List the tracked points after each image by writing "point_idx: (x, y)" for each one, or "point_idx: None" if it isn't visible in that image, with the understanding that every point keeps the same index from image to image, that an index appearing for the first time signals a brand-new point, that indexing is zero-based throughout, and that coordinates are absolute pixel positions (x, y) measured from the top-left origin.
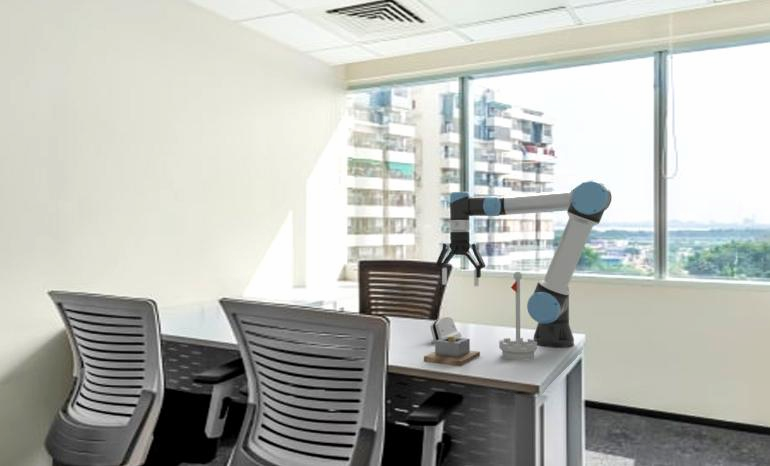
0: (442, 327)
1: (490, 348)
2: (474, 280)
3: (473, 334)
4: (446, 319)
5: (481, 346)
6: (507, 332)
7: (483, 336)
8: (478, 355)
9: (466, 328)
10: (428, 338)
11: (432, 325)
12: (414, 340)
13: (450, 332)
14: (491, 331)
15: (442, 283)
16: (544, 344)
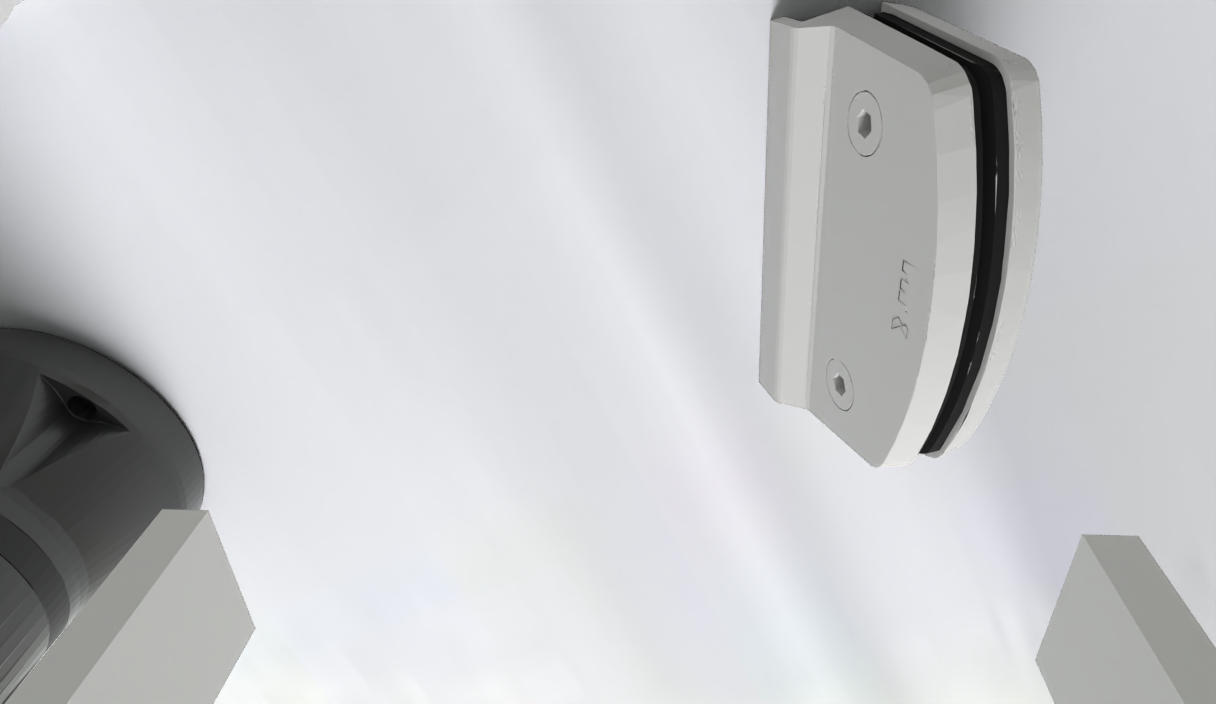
0: (882, 161)
1: (303, 55)
2: (110, 632)
3: (701, 486)
4: (902, 351)
5: (416, 94)
6: (510, 620)
7: (598, 454)
8: None
9: (835, 634)
10: None
11: (1008, 71)
12: (1178, 5)
13: (823, 277)
14: (623, 611)
15: (1149, 561)
16: (19, 336)
